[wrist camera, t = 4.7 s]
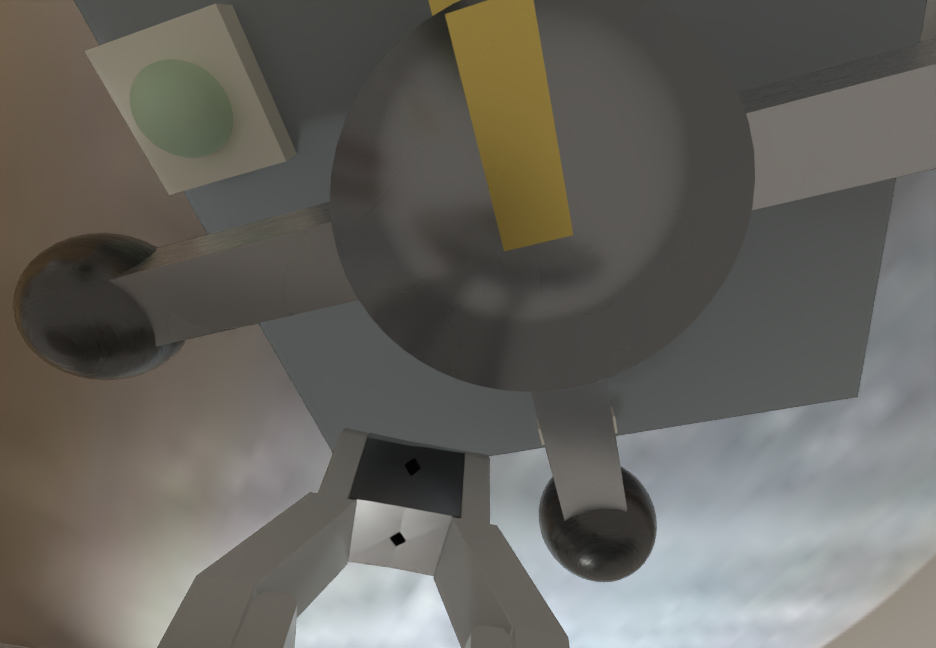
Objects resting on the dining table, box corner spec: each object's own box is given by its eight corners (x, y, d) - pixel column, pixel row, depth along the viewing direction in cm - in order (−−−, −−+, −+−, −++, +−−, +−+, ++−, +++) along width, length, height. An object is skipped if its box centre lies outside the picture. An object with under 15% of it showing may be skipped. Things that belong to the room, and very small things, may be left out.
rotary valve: (794, 333, 15) (903, 443, 11) (369, 412, 17) (332, 525, 13) (871, -583, 7) (1358, -1368, 3) (67, -202, 9) (-236, -366, 5)
